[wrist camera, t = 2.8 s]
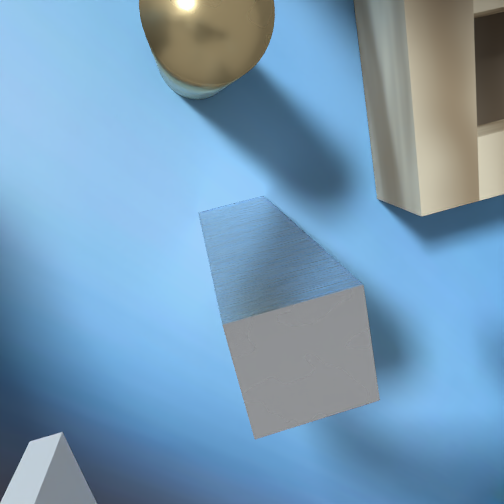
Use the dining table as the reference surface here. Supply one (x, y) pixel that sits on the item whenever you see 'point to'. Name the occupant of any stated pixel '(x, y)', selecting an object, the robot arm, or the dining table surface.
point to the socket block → (434, 100)
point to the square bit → (287, 318)
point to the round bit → (206, 41)
